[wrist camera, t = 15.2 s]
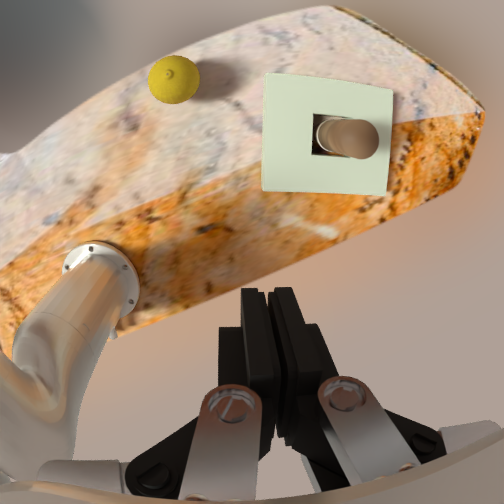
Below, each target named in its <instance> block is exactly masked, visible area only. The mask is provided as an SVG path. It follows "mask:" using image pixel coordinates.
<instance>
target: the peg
mask: <svg viewBox="0 0 504 504" xmlns="http://www.w3.org/2000/svg"><path fill="white" fill-rule="evenodd" d="M313 137H314V140H315V142H316V143H317V144H318V145H320V146H321V147H322V148H323V149H324V150H327V151H330V152H335V153H339V154H342V155H346V156H349V157H353V158H356V159H367V158H369V157H371V156H372V155H373V154H374V153H375V152H376V150H377V148H378V145H379V135H378V132H377V130H376V128H375V127H374V126H373V125H372V124H371V123H370V122H368V121H366V120H362V119H345V120H334V119H330V120H326V121H323V122H322V123H320V124H318V125H317V126H316V127H315V129H314V132H313Z"/></svg>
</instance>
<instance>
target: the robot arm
mask: <svg viewBox="0 0 504 504" xmlns="http://www.w3.org/2000/svg"><path fill="white" fill-rule="evenodd" d="M126 265H127V266H126ZM139 294H140V282H139V277H138V274H137V272H136V270H135V268H134V266H133V264H132V263H131V261H130V260H129V259H128V258H127V257H126V256H125V255H124V254H123V253H122V252H121V251H120V250H118V249H116V248H115V247H113V246H111V245H109V244H106V243H103V242H98V241H90V242H84V243H82V244H80V245H78V246H76V247H75V248H74V249H72V250H71V252H70V253H69V254H68V255H67V257H66V258H65V260H64V263H63V267H62V276H61V277H60V279H59V280H58V281H57V282H56V283H55V284H54V285H53V286H52V287H51V289H50V290H49V291H48V292H47V293H46V294H45V295H44V297H43V298H42V299H41V300H40V301H39V302H38V304H37V305H36V306H35V307H34V308H33V310H32V311H31V312H30V313H29V314H28V316H27V317H26V318H25V319H24V321H23V322H22V323H21V324H20V326H19V328H18V329H17V332H16V334H15V337H14V341H13V346H12V361H11V360H10V359H9V358H8V357H7V356H6V355H5V354H4V353H3V352H2V351H1V350H0V504H504V428H502V429H501V427H500V426H499V425H498V424H497V423H495V422H492V421H479V422H474V423H469V424H463V425H456V426H449V427H442V428H440V429H439V430H438V431H435V430H433V429H432V428H430V427H427V426H425V425H422V424H420V423H417V422H415V421H412V420H410V419H407V418H405V417H402V416H400V415H397V414H395V413H392V412H390V411H388V410H386V409H383V408H382V406H381V405H380V403H379V402H378V400H377V399H376V397H375V396H374V395H373V393H372V392H371V390H370V389H369V388H368V387H367V385H366V384H365V383H363V382H361V381H360V380H358V379H356V378H353V377H349V376H339V374H338V372H337V369H336V367H335V365H334V362H333V360H332V357H331V355H330V353H329V350H328V348H327V345H326V343H325V341H324V338H323V336H322V334H321V332H320V329H319V327H318V325H317V324H305V321H304V318H303V316H302V313H301V310H300V308H299V305H298V303H297V300H296V298H295V295H294V292H293V289H292V288H291V287H275V289H274V292H269V293H268V306H267V304H266V299H265V295H264V292H258V289H257V288H241V327H219V352H218V353H219V355H218V387H216V388H214V389H212V390H211V391H209V392H208V393H207V394H206V395H205V397H204V399H203V401H202V405H201V408H200V412H199V416H198V417H196V418H195V419H193V420H192V421H191V422H189V423H188V424H186V425H185V426H183V427H182V428H180V429H179V430H178V431H176V432H174V433H173V434H172V435H170V436H169V437H167V438H165V439H164V440H162V441H161V442H159V443H158V444H157V445H155V446H153V447H152V448H150V449H149V450H147V451H145V452H144V453H142V454H140V455H139V456H137V457H136V458H135V459H133V460H132V461H131V462H124V463H120V462H119V460H72V458H73V454H74V448H75V440H76V431H77V422H78V415H79V411H80V406H81V403H82V399H83V396H84V393H85V390H86V388H87V385H88V382H89V380H90V378H91V375H92V373H93V371H94V368H95V366H96V363H97V361H98V358H99V357H100V354H101V352H102V350H103V348H104V346H105V343H106V341H107V339H108V337H109V338H110V339H116V338H117V337H118V335H117V331H116V329H115V326H116V324H117V322H118V320H119V319H120V318H122V317H124V316H126V315H128V314H129V313H130V312H131V311H132V310H133V308H134V307H135V305H136V303H137V301H138V298H139ZM275 423H276V429H277V435H278V437H279V438H282V437H284V440H285V445H286V446H292V449H294V450H295V451H297V452H299V453H301V459H302V462H303V465H304V467H305V470H306V472H307V474H308V477H309V479H310V481H311V484H312V486H313V488H314V491H315V494H308V495H302V496H294V497H286V498H277V499H266V500H255V497H256V484H257V472H258V462H259V461H260V459H262V458H263V457H264V456H265V455H266V454H267V453H268V452H269V451H270V447H271V440H272V438H273V437H274V430H275ZM8 476H9V477H11V478H13V479H15V480H17V481H16V482H11V481H10V479H9V477H8Z"/></svg>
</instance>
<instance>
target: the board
mask: <svg viewBox="0 0 504 504" xmlns="http://www.w3.org/2000/svg"><path fill="white" fill-rule="evenodd" d="M392 112H393V90H389V89H385V88H380V87H375V86H370V85H365V84H360V83H354V82H348V81H342V80H335V79H328V78H320V77H312V76H302V75H291V74H278V73H266V74H265V75H264V91H263V132H262V170H261V188H262V190H263V191H280V192H317V193H341V194H360V195H376V196H386V188H387V179H388V169H389V159H390V147H391V132H392ZM313 115H324V116H333V117H342V118H345V119H362V120H366V121H368V122H370V123H371V124H372V125H373V126H374V127H375V128H376V130H377V132H378V135H379V145H378V148H377V150H376V152H375V153H374V154H373V155H372V156H371V157H369V158H367V159H356V158H353V157H349V156H346V155H343V156H340V155H327V154H312V153H311V152H312V131H313Z"/></svg>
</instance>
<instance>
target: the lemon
mask: <svg viewBox="0 0 504 504" xmlns="http://www.w3.org/2000/svg"><path fill="white" fill-rule="evenodd" d="M199 83H200V74H199V71H198V69H197V67H196V65H195V64H194V63H193V62H192V61H191V60H189V59H188V58H185V57H182V56H175V55H174V56H168V57H165V58H162V59H161V60H159V61H158V62H156V64H155V65H154V66H153V67H152V69H151V70H150V73H149V76H148V85H149V89H150V91H151V93H152V94H153V96H154V97H155V98H157V99H158V100H160V101H161V102H163V103H168V104H178V103H182V102H184V101H186V100H188V99H189V98H191V97H192V96H193V95H194V94H195V92H196V91H197V89H198V87H199Z"/></svg>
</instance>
